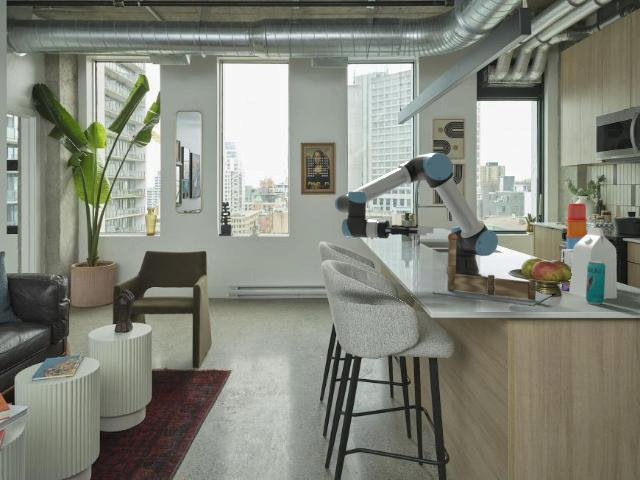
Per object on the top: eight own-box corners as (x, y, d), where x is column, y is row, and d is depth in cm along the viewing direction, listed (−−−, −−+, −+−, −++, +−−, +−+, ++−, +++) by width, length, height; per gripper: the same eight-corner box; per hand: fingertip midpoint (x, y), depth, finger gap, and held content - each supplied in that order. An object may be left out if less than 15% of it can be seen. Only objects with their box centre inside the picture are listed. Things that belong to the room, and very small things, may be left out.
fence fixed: (488, 293, 210) (489, 274, 209) (536, 298, 199) (537, 279, 199) (486, 294, 208) (487, 275, 207) (534, 299, 197) (534, 280, 197)
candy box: (596, 289, 223) (598, 249, 222) (599, 292, 218) (601, 251, 216) (559, 287, 228) (561, 248, 226) (561, 290, 222) (562, 249, 221)
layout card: (462, 283, 236) (462, 282, 236) (555, 294, 213) (555, 292, 213) (432, 293, 214) (432, 291, 214) (532, 305, 191) (532, 304, 191)
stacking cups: (591, 285, 233) (595, 203, 230) (565, 284, 235) (568, 203, 232) (586, 281, 243) (590, 203, 240) (561, 280, 245) (564, 203, 242)
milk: (616, 298, 205) (620, 228, 203) (588, 299, 204) (592, 229, 201) (595, 292, 217) (598, 226, 215) (569, 293, 215) (571, 227, 213)
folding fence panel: (487, 292, 211) (489, 234, 209) (484, 294, 208) (486, 235, 206) (448, 288, 221) (450, 232, 219) (445, 289, 218) (446, 233, 216)
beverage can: (582, 302, 198) (584, 260, 197) (597, 301, 199) (599, 260, 197) (591, 305, 192) (593, 262, 191) (607, 305, 193) (609, 262, 192)
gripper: (386, 236, 239) (435, 238, 231) (369, 240, 216) (422, 242, 208) (387, 218, 239) (436, 220, 230) (369, 221, 216) (423, 223, 208)
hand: (430, 231), depth 219 cm, fingers open, 13 cm apart
